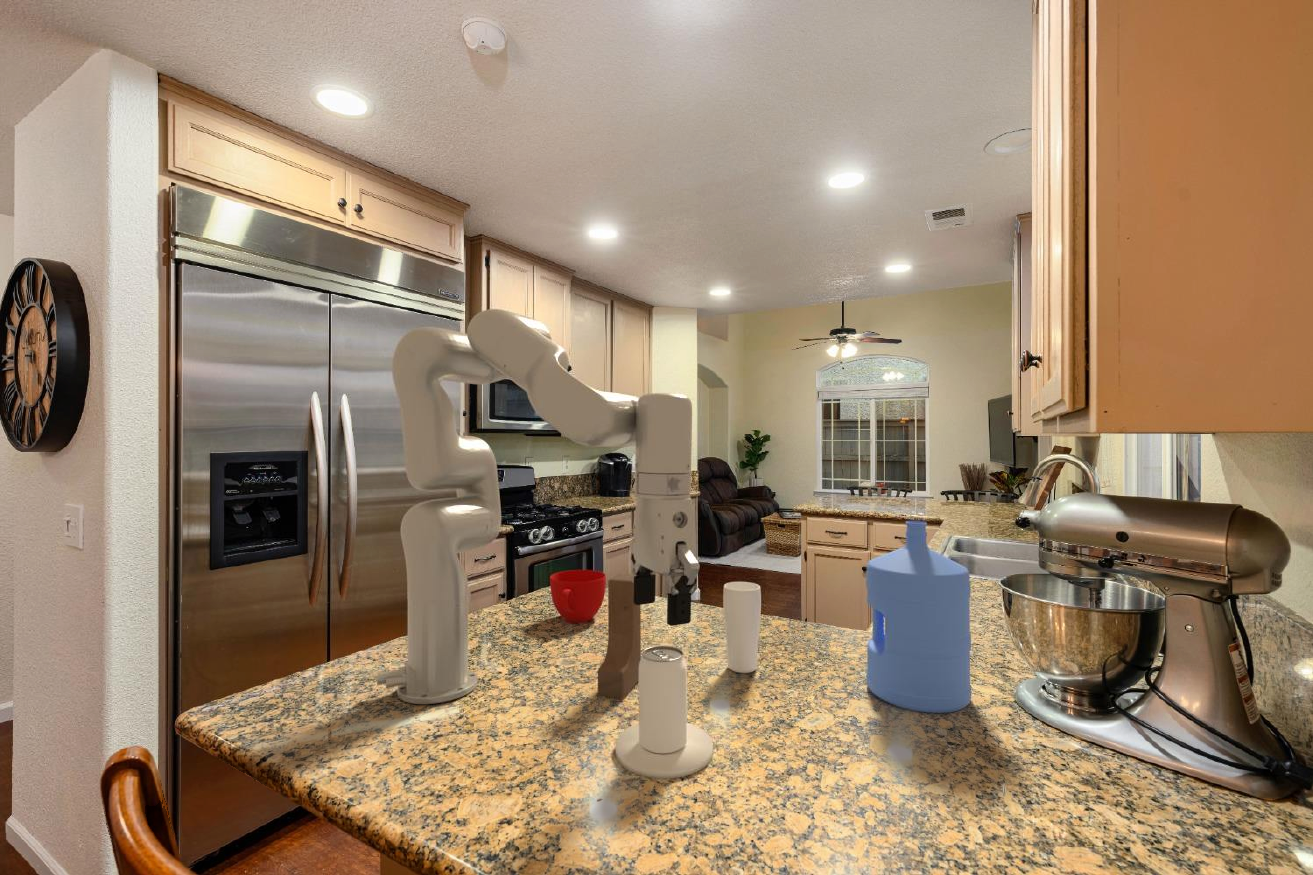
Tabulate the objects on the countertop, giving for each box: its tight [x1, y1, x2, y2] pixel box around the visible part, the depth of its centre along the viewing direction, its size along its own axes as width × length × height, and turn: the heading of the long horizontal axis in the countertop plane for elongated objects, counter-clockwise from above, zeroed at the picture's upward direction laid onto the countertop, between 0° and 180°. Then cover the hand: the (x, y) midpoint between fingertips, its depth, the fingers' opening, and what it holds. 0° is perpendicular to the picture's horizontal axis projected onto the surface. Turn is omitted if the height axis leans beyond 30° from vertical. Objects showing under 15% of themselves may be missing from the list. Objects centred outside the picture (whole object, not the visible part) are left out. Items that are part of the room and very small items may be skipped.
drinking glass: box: [722, 581, 762, 674], centre depth 106 cm, size 7×7×15 cm
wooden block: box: [597, 573, 642, 700], centre depth 98 cm, size 9×4×18 cm, turn 162°
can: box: [638, 645, 688, 755], centre depth 78 cm, size 6×6×12 cm
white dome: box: [615, 722, 714, 779], centre depth 78 cm, size 13×13×1 cm
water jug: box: [865, 520, 972, 714], centre depth 96 cm, size 16×16×28 cm
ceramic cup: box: [549, 569, 607, 624], centre depth 135 cm, size 13×17×10 cm
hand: (660, 613), depth 78 cm, fingers open, 9 cm apart
